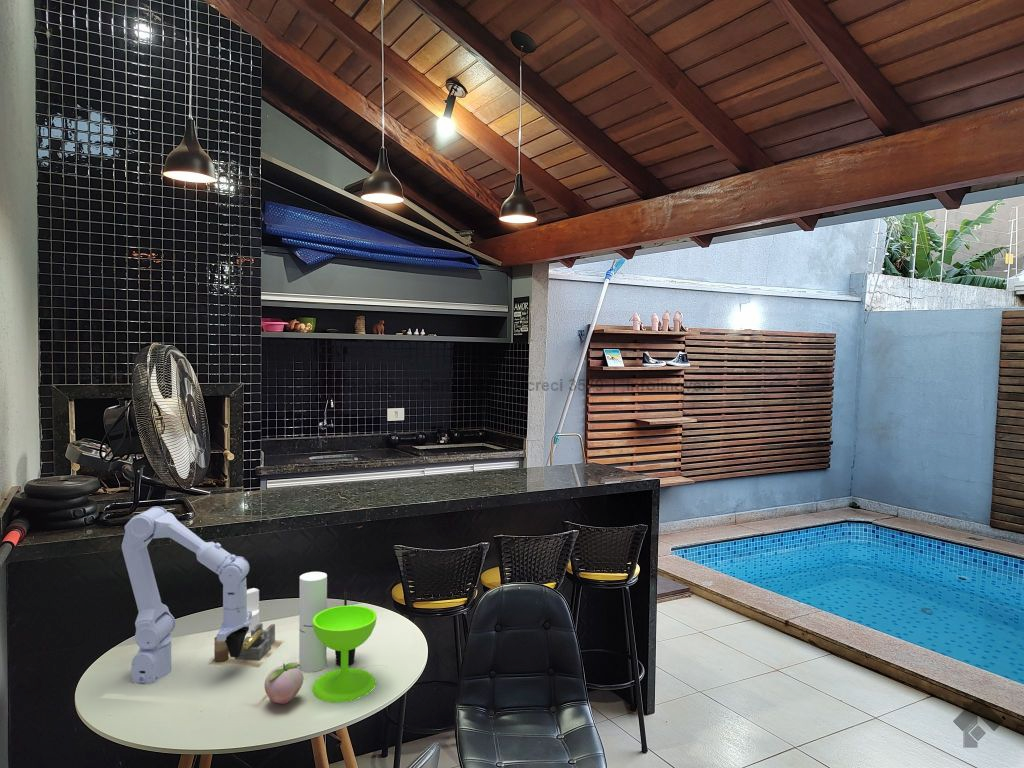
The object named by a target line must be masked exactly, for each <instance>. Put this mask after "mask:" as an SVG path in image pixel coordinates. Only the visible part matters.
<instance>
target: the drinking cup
mask: <svg viewBox="0 0 1024 768" xmlns="http://www.w3.org/2000/svg"><path fill="white" fill-rule="evenodd" d="M343 594H344V595H343V596H344V597H343V598H344V600H343V604H344V605H343V606H347V605H348V599H347V598H348V591H346V590H345V591H343ZM334 653H335V664H336V665H337V666H338V667H341V651H336V650H334ZM355 655H356V648H355V649H352V650H348V667H349V666H351V665H353V664H354V663H355Z"/></svg>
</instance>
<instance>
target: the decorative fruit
mask: <svg viewBox="0 0 1024 768" xmlns="http://www.w3.org/2000/svg"><path fill="white" fill-rule="evenodd" d="M299 666H300V664H299V663H298V662H289V663H286V664H285V663H283V664H282V665H279V666H276V667H274V668H273V669H272V670H271V671H270V672H269V673H268V674H267V676H266V678H265V680H264V685H263V686H264V691H265V693H266V695H267V697H268V699H269V700H270V701H272V702H273V703H275V704H281V705H283V704H287V703H288V702H289V701H291V700H292V699H294V698H295V697H296V696H297V695H298V693H299V692H300V690H301V688H302V686H303V684H304V679H305V677H304V674H303V671H301V670H300V669H299Z"/></svg>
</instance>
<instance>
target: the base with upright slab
mask: <svg viewBox="0 0 1024 768" xmlns="http://www.w3.org/2000/svg"><path fill="white" fill-rule="evenodd" d="M247 611H252V618H251V619H249V620H248V621H251V624H250V625H249V626H248V627H249V630H248V632H247V634H248V633H251V630H252V629H253V628H254V627H255V626H256V625H258V624H259V623H260V589H258V588H255V587H253V588H247Z"/></svg>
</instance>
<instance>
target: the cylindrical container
mask: <svg viewBox="0 0 1024 768" xmlns="http://www.w3.org/2000/svg"><path fill="white" fill-rule="evenodd" d="M298 604H299V608H298V611H299V612H298V613H299V617H298V618H299V619H298V620H299V623H298V624H299V629H298V630H299V632H298V633H299V635H298V636H299V637H298V639H299V640H298V641H299V642H298V643H299V644H298V645H299V646H298V647H299V648H298V649H299V653H298V655H299V656H298V661H299V663H298V664H300V666H298V668H299V669H300V670H301V672H304V673H315V672H319V671H322V670H324V669H325V668H326V667H327V655H328V654H327V650H328V649H327V648H328V647H326V646H325V645H323V644H322V642H321V641H320V640H319V639H318V638H317V636H316V634H315V632H314V628H313V618H314V616H315V615H316V614H318V613H319V612H321V611H323V610H326V609H328V574H327V573H326V572H322V571H310V572H309V571H308V572H305V573H303V574H301V575H299V603H298Z"/></svg>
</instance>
